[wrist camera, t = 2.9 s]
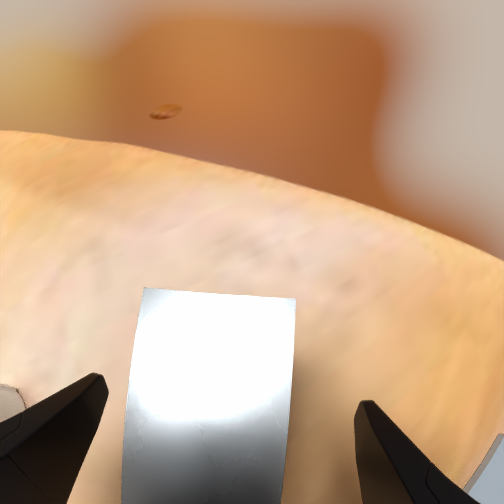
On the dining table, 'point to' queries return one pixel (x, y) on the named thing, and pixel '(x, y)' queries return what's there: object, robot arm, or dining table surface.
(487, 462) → the grey peg board
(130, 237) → the dining table surface
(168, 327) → the block
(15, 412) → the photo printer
